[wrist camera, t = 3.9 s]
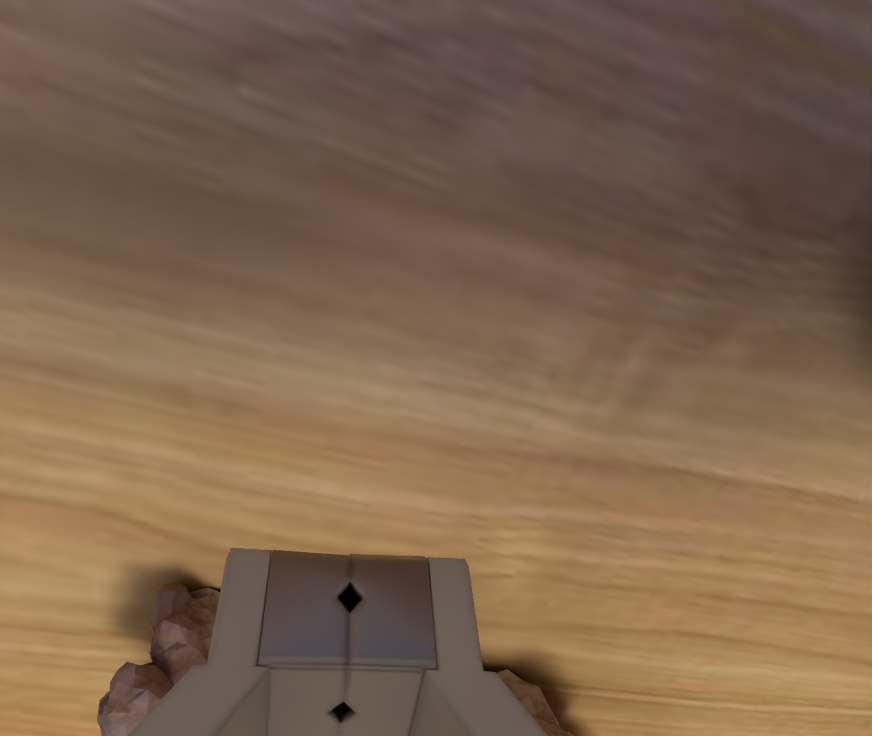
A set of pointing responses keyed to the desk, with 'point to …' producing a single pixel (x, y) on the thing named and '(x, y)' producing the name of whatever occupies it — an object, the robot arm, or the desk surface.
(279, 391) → the desk surface
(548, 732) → the mineral specimen
